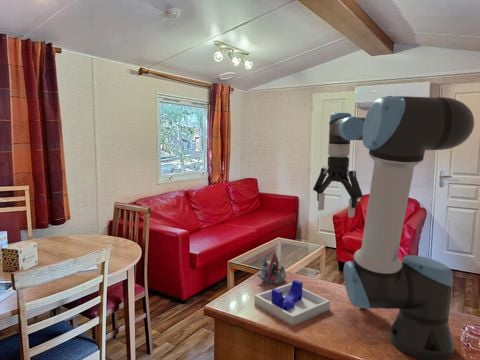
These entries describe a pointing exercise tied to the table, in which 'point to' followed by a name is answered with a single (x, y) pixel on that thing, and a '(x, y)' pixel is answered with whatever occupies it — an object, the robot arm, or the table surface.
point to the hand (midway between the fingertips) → (335, 213)
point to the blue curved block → (287, 296)
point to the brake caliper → (271, 271)
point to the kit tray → (301, 310)
